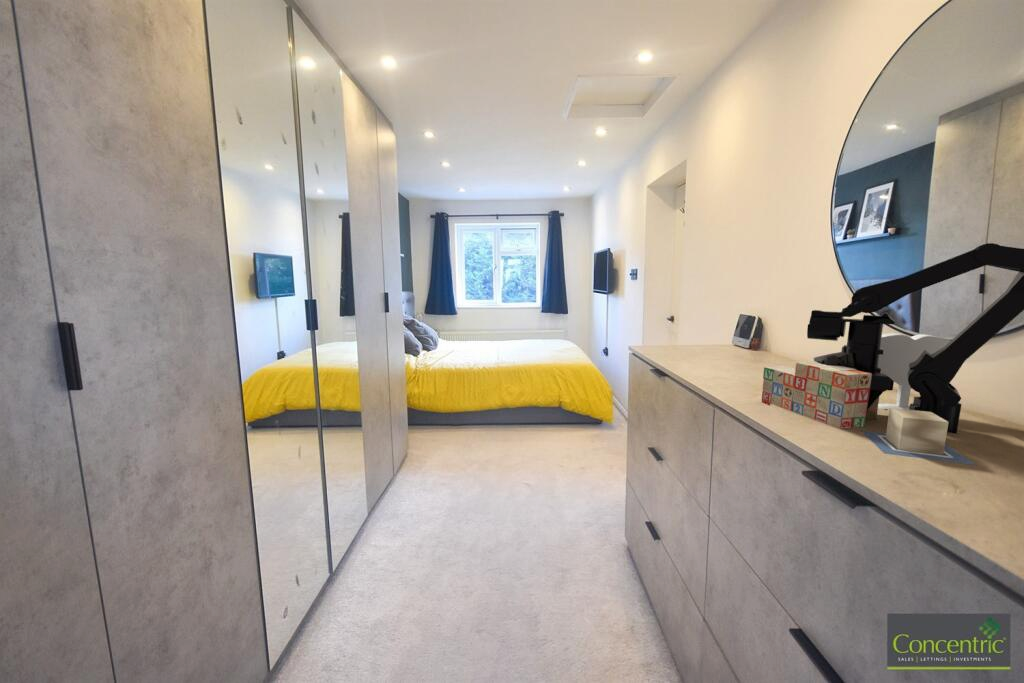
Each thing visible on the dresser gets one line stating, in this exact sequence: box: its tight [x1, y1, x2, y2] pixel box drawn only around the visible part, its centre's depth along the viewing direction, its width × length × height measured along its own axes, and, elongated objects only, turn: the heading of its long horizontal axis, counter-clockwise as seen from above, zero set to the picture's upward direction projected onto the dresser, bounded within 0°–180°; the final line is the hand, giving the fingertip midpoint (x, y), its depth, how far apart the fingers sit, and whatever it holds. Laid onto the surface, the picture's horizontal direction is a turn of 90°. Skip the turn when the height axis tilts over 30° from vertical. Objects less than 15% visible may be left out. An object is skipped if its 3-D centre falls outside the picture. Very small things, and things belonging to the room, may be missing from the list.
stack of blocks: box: [761, 361, 872, 430], centre depth 96 cm, size 21×6×12 cm, turn 11°
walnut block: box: [866, 396, 880, 420], centre depth 95 cm, size 6×6×6 cm
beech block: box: [885, 408, 948, 455], centre depth 76 cm, size 6×6×6 cm
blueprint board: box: [860, 430, 977, 466], centre depth 77 cm, size 12×12×1 cm
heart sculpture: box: [878, 332, 951, 410], centre depth 99 cm, size 16×5×18 cm, turn 67°
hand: (855, 410), depth 95 cm, fingers closed on walnut block, 6 cm apart
